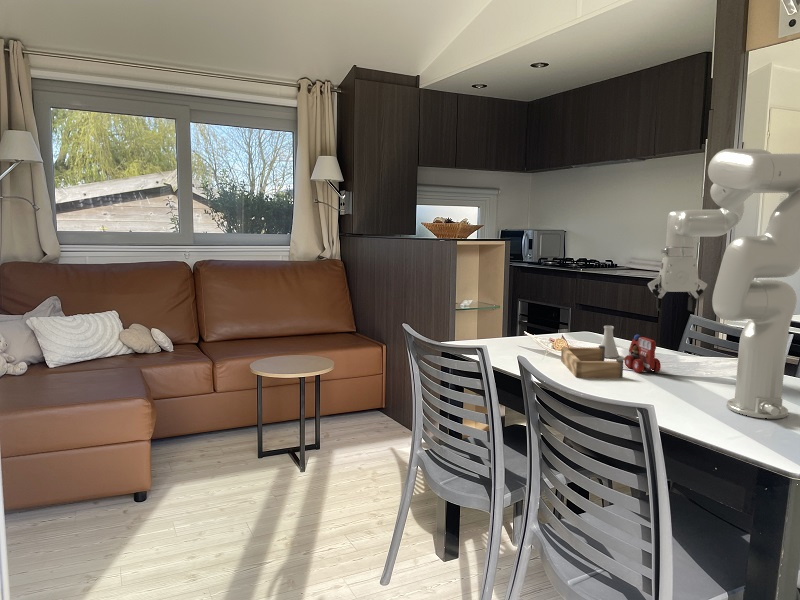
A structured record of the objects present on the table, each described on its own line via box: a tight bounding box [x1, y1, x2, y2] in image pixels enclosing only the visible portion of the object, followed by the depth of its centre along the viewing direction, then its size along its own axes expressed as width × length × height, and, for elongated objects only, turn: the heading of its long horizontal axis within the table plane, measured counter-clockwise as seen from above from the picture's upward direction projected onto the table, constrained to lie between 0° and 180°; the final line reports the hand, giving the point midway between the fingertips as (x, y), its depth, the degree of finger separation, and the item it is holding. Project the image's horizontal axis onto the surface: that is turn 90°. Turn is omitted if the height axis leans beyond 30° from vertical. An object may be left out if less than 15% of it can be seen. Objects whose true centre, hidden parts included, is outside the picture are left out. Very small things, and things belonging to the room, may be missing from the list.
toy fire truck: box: [623, 334, 661, 374], centre depth 177 cm, size 7×12×10 cm, turn 7°
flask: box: [600, 325, 620, 359], centre depth 194 cm, size 7×7×10 cm
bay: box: [560, 345, 624, 379], centre depth 178 cm, size 19×13×5 cm
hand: (675, 310), depth 174 cm, fingers open, 8 cm apart
